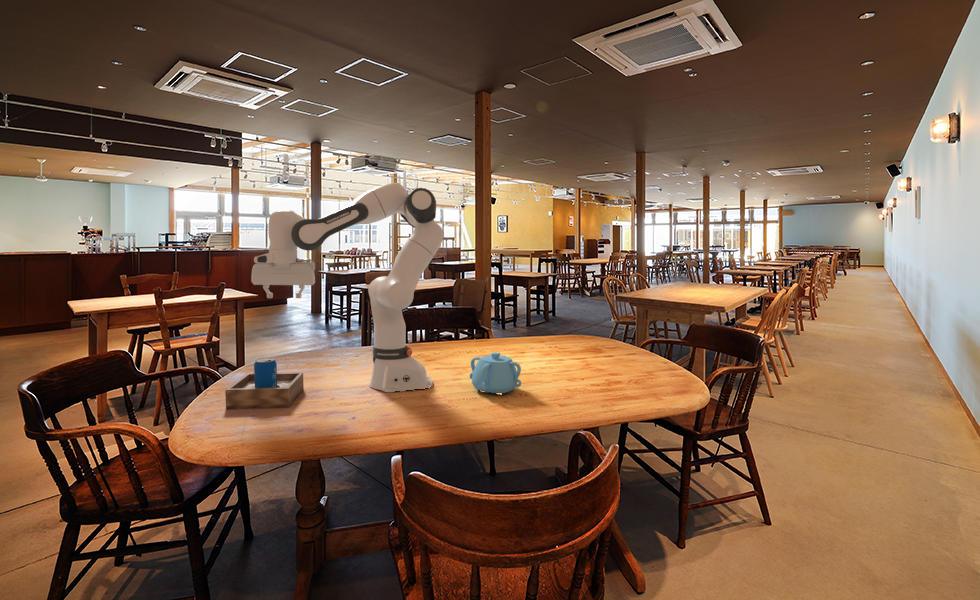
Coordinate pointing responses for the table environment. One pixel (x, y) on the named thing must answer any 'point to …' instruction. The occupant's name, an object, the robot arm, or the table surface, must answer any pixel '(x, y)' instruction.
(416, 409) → the table surface
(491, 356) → the decorative pot
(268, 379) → the beverage can
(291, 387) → the caddy
